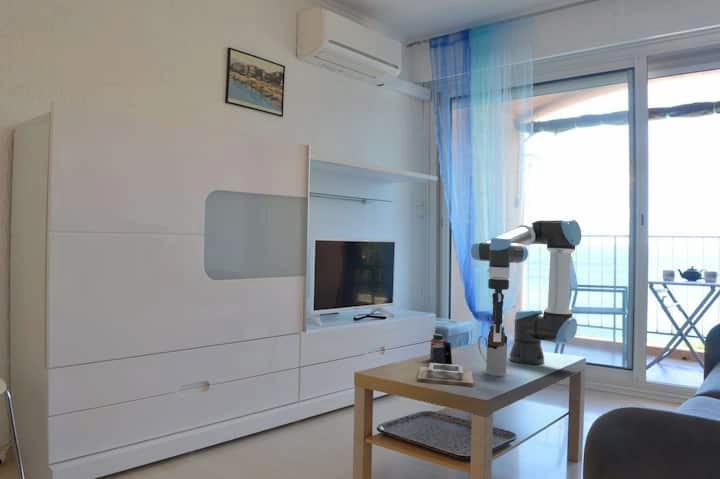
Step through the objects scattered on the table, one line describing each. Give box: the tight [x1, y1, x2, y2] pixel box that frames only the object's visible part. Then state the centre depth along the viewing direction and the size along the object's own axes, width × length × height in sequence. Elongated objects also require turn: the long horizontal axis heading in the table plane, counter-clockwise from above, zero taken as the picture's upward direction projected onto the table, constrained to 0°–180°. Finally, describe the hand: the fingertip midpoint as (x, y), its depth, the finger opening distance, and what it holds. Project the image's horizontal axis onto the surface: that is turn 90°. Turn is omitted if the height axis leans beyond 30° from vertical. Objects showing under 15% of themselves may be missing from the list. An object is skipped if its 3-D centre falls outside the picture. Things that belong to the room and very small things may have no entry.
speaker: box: [432, 339, 453, 365], centre depth 225 cm, size 8×6×10 cm
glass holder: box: [477, 334, 508, 377], centre depth 218 cm, size 9×14×15 cm, turn 36°
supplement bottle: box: [429, 333, 444, 361], centre depth 236 cm, size 6×6×11 cm
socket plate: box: [417, 362, 474, 387], centre depth 204 cm, size 20×20×4 cm
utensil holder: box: [488, 312, 506, 346], centre depth 202 cm, size 6×6×12 cm
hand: (496, 340), depth 202 cm, fingers closed on utensil holder, 6 cm apart
